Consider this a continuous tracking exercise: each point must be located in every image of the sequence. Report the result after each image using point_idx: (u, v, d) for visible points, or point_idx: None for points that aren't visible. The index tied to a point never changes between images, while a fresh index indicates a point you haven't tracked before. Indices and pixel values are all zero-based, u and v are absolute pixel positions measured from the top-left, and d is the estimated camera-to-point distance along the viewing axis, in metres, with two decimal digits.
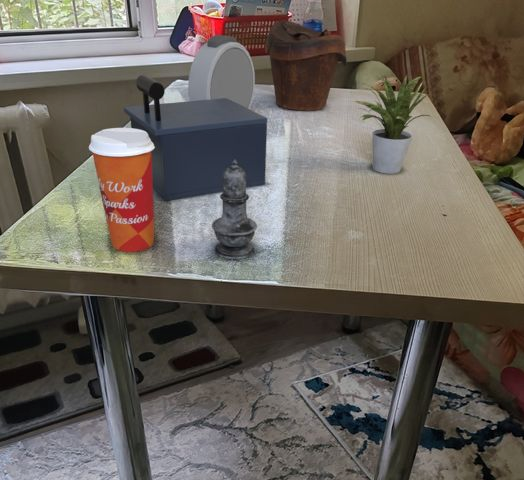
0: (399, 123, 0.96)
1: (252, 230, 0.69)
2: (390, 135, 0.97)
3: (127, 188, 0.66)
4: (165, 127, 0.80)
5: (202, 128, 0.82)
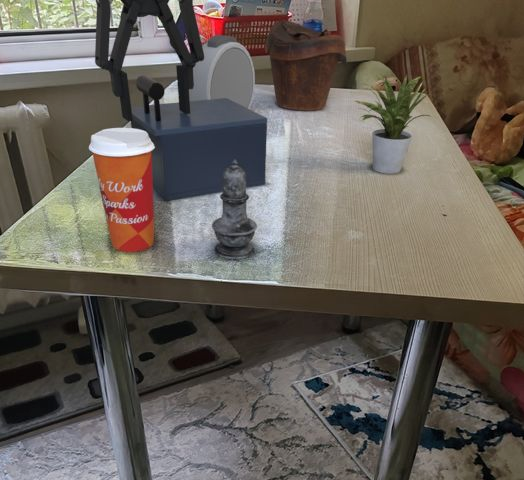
0: (399, 123, 0.96)
1: (252, 230, 0.69)
2: (390, 135, 0.97)
3: (128, 188, 0.66)
4: (165, 128, 0.80)
5: (202, 128, 0.82)
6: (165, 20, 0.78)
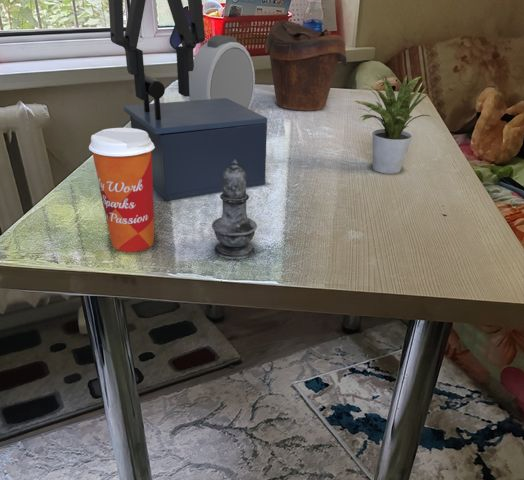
0: (399, 123, 0.96)
1: (252, 230, 0.69)
2: (390, 135, 0.97)
3: (128, 188, 0.66)
4: (165, 126, 0.80)
5: (202, 127, 0.82)
6: None
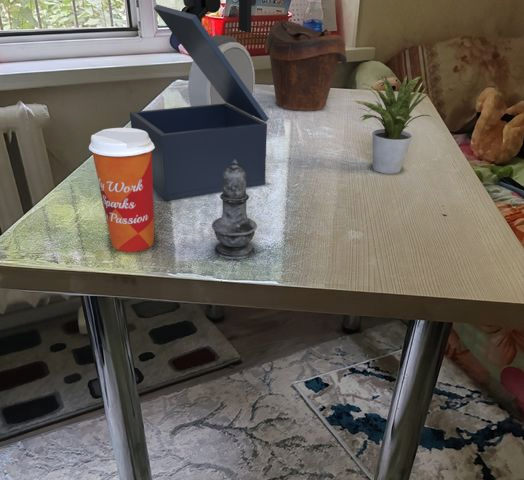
0: (399, 123, 0.96)
1: (252, 230, 0.69)
2: (390, 135, 0.97)
3: (128, 188, 0.66)
4: None
5: (225, 63, 0.79)
6: None
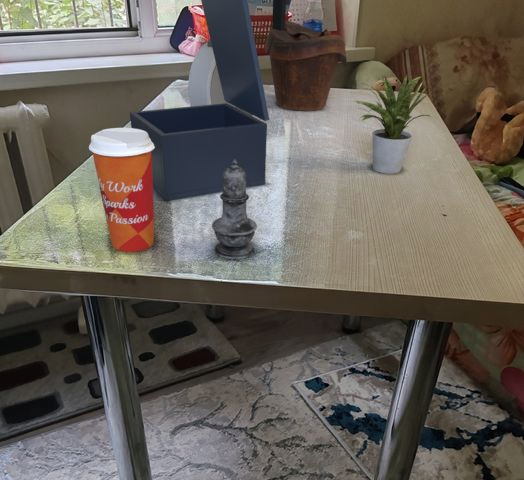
0: (399, 123, 0.96)
1: (252, 230, 0.69)
2: (390, 135, 0.97)
3: (128, 188, 0.66)
4: None
5: (252, 43, 0.79)
6: None
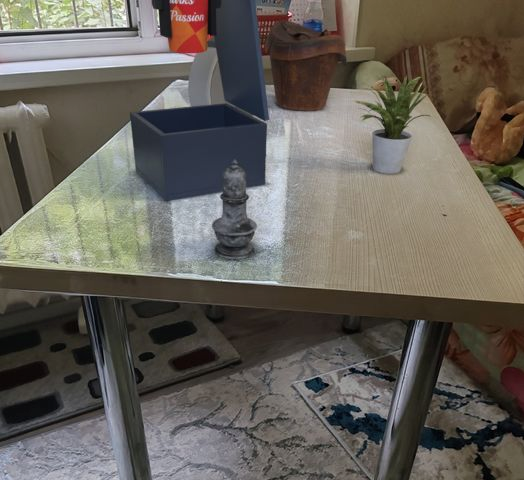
0: (399, 123, 0.96)
1: (252, 230, 0.69)
2: (390, 135, 0.97)
3: None
4: None
5: (257, 42, 0.79)
6: None
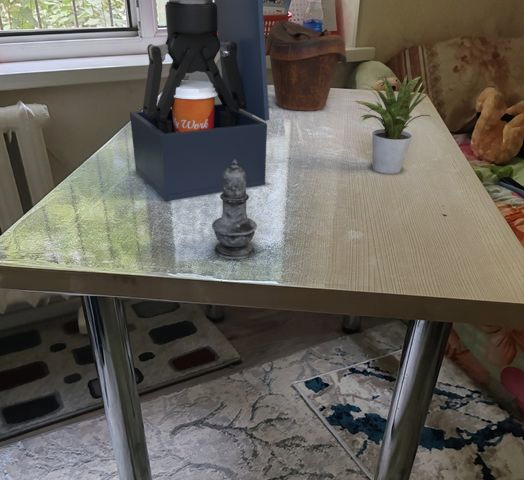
0: (399, 123, 0.96)
1: (252, 230, 0.69)
2: (390, 135, 0.97)
3: (197, 125, 0.86)
4: None
5: (262, 41, 0.80)
6: (212, 75, 0.85)
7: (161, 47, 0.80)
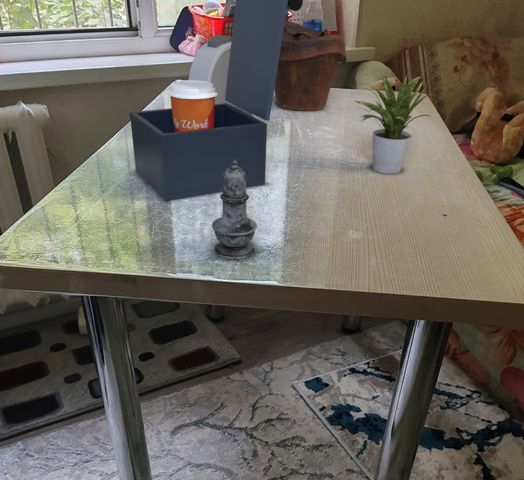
0: (399, 123, 0.96)
1: (252, 230, 0.69)
2: (390, 135, 0.97)
3: (197, 125, 0.86)
4: None
5: (279, 40, 0.81)
6: None
7: None
